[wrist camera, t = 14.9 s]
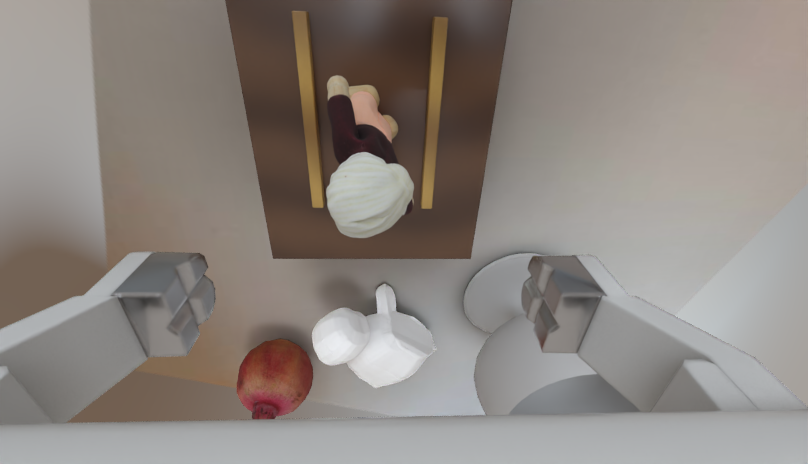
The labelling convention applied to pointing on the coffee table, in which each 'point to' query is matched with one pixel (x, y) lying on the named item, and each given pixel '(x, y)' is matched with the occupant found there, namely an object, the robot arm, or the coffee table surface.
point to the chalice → (527, 354)
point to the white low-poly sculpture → (374, 341)
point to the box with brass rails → (399, 98)
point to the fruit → (274, 379)
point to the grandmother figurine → (364, 163)
